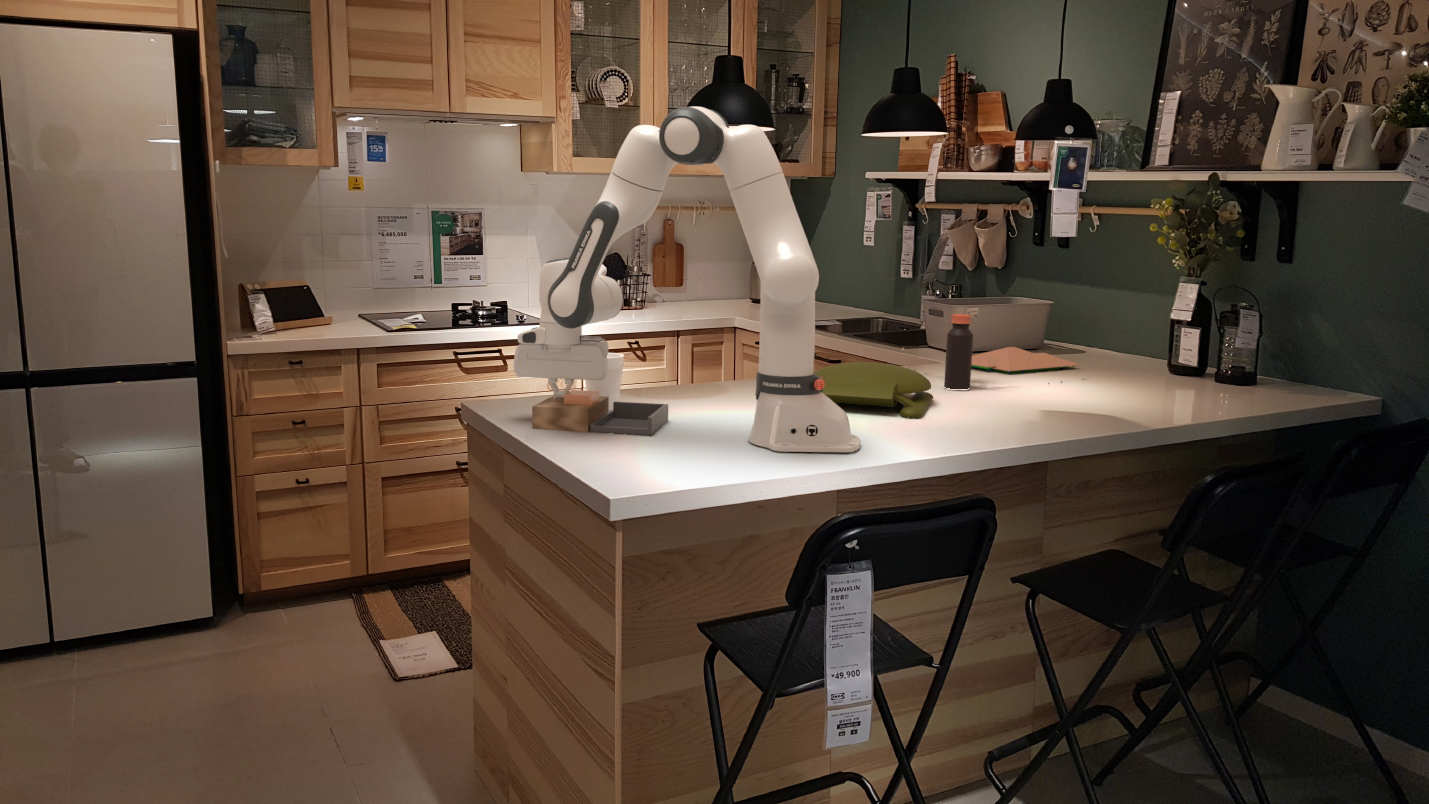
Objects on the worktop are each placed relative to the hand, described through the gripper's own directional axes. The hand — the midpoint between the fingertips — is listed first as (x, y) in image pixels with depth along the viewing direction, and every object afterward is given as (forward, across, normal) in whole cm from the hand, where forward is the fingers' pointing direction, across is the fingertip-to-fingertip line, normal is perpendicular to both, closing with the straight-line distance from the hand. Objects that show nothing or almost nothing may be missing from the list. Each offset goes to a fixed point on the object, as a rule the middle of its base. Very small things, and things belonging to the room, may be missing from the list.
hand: (561, 399), depth 231 cm
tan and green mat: (+7, -104, -111) cm, 153 cm away
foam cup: (+6, -5, -16) cm, 18 cm away
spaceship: (+6, -64, -46) cm, 79 cm away
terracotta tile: (0, -4, 0) cm, 5 cm away
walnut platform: (+5, -2, 0) cm, 6 cm away
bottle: (+6, -87, -73) cm, 113 cm away
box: (+5, -15, 0) cm, 16 cm away
